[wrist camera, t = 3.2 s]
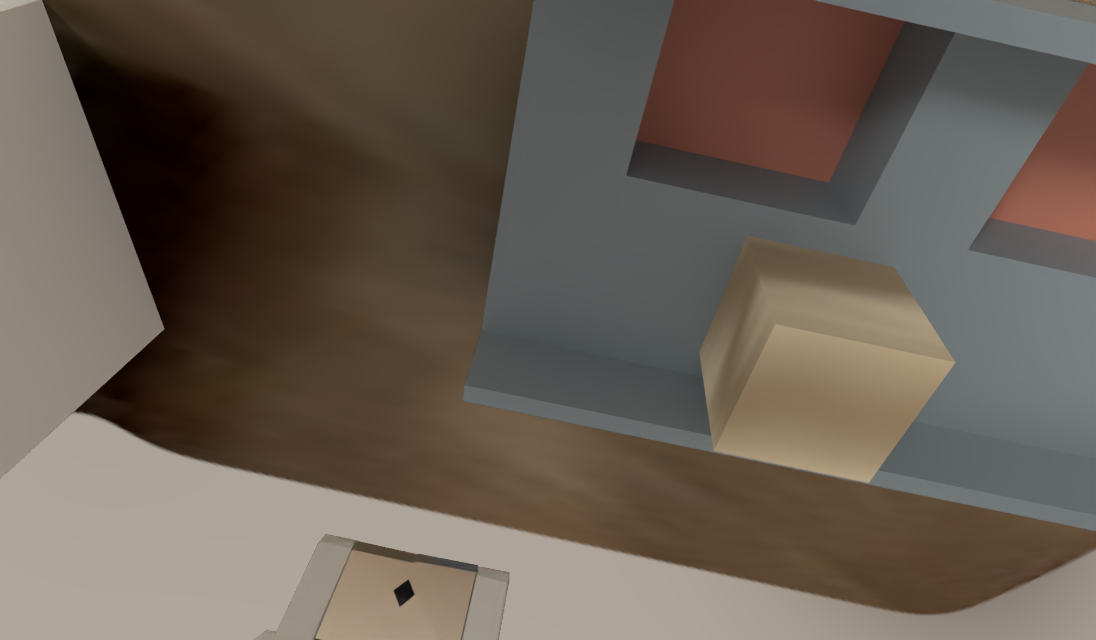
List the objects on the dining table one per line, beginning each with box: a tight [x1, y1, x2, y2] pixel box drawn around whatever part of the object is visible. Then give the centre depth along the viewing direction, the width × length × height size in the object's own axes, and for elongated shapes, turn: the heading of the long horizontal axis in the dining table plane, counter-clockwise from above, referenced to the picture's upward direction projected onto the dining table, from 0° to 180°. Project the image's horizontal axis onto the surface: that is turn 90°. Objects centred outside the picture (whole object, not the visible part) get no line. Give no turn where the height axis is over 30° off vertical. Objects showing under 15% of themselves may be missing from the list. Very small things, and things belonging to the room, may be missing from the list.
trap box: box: [462, 0, 1096, 531], centre depth 17 cm, size 12×22×6 cm, turn 79°
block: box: [699, 236, 956, 483], centre depth 17 cm, size 4×4×4 cm
